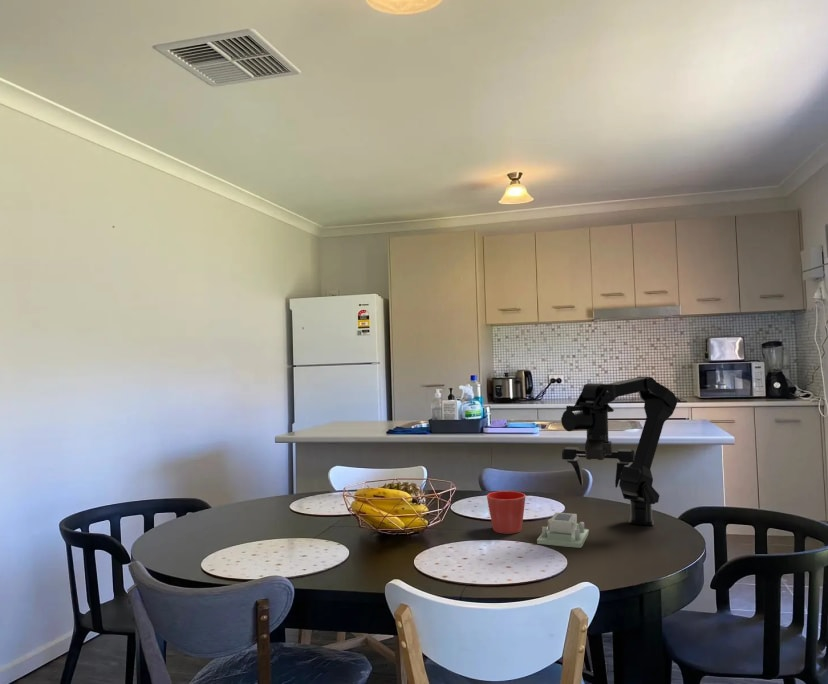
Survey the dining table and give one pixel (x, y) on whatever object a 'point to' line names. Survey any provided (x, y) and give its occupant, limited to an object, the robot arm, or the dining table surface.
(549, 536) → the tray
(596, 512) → the dining table surface
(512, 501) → the flower pot
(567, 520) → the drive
